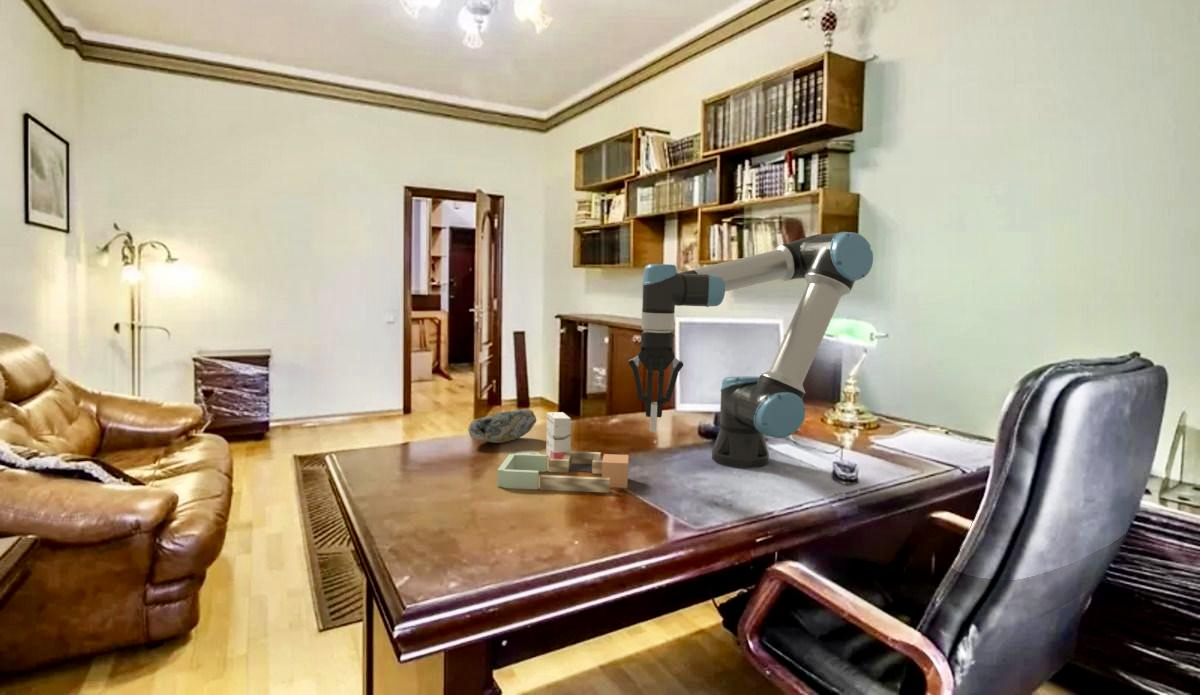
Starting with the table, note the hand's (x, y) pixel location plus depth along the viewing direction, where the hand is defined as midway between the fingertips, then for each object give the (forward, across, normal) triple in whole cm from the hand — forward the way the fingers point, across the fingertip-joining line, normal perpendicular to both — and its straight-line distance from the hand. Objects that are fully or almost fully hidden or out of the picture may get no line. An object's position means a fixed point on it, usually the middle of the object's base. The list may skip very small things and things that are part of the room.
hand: (653, 430), depth 153 cm
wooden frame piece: (+13, +18, -4) cm, 22 cm away
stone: (+14, +43, -32) cm, 55 cm away
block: (+13, +8, 0) cm, 16 cm away
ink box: (+14, +25, -19) cm, 34 cm away
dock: (+13, +30, 0) cm, 33 cm away
